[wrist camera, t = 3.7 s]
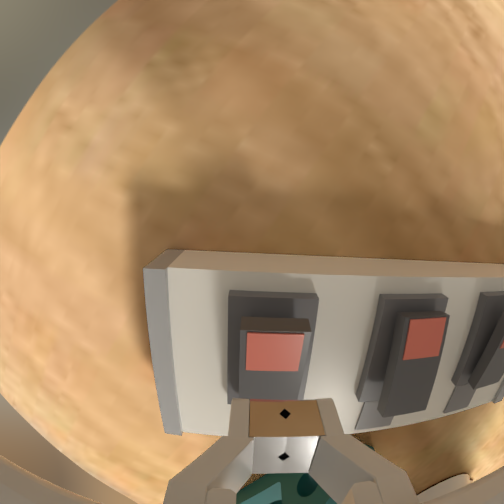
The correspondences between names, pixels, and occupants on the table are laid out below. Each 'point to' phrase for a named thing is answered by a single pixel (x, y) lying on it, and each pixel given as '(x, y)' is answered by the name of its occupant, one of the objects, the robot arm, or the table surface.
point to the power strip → (313, 329)
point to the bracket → (284, 490)
